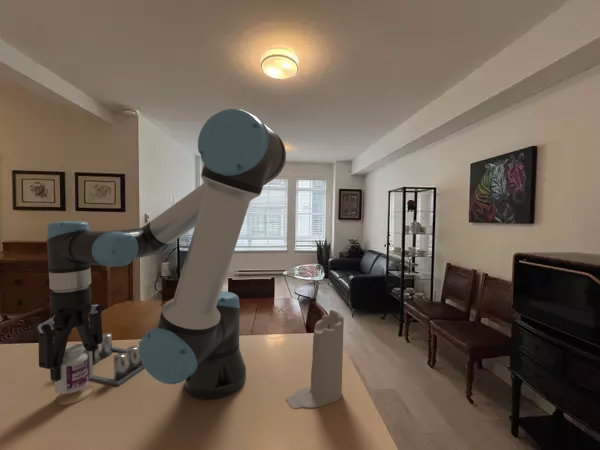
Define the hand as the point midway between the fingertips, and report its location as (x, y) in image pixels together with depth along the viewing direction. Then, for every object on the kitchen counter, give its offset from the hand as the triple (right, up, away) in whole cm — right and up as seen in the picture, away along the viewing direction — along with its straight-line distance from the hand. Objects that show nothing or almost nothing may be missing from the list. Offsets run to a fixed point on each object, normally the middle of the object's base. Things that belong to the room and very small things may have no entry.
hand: (74, 383), depth 67 cm
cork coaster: (0, -3, 0) cm, 3 cm away
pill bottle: (0, -1, 0) cm, 1 cm away
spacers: (+1, -2, +13) cm, 13 cm away
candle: (+57, -4, +1) cm, 57 cm away
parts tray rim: (+1, -2, +13) cm, 13 cm away
